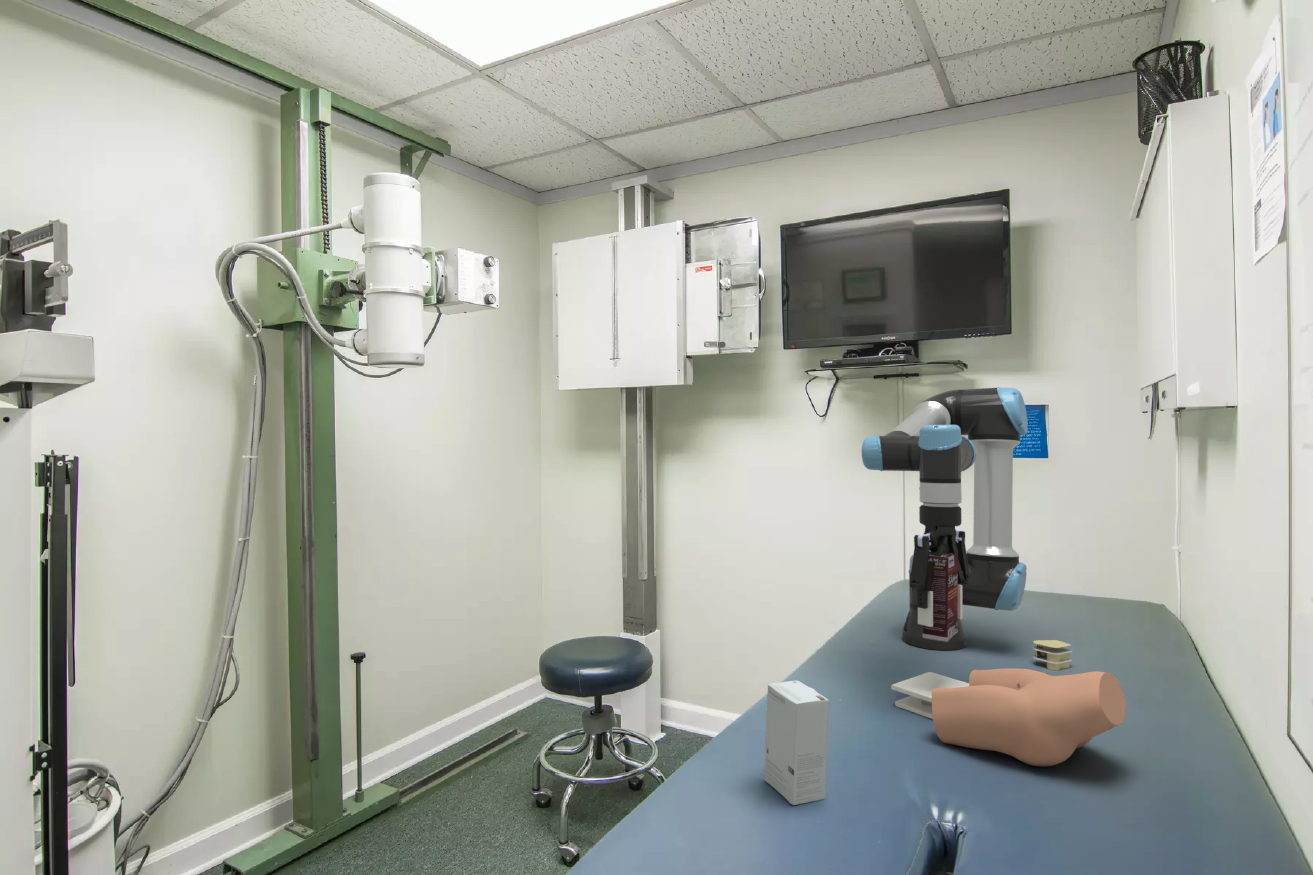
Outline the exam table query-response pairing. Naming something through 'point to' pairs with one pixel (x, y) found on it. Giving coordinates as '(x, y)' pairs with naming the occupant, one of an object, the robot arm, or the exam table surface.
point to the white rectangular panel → (923, 691)
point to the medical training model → (1028, 712)
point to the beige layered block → (1053, 653)
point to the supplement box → (944, 598)
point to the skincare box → (796, 741)
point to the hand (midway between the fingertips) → (940, 620)
